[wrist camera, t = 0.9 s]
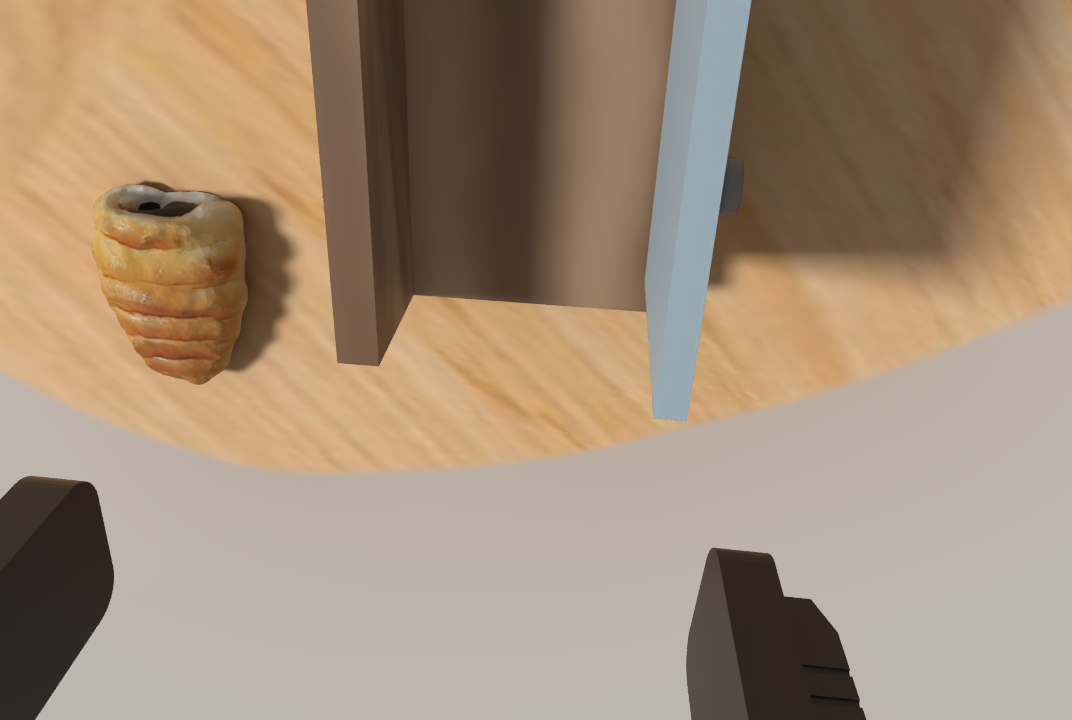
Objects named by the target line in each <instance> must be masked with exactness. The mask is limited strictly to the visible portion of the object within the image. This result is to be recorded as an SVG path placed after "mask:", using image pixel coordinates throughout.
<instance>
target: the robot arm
mask: <svg viewBox="0 0 1072 720" xmlns="http://www.w3.org/2000/svg"><path fill="white" fill-rule="evenodd" d="M113 584H114V570H113V564H112V559H111V555H110V550H109V545H108V541H107V536H106V531H105V526H104V522H103V517H102V512H101V507H100V503H99V498H98V494H97V491H96V490H95V487H94V486H93V485H92V484H91V483H89V482H85V481H76V480H66V479H56V478H46V477H37V476H27V477H25V478H23V479H21V480H19V481H18V482H17V483H16V484H15V485H14V486H13V487H12V488H11V489H10V490H9V491H8V492H7V493H6V494H5V495H4V496H3V497H2V498H1V499H0V720H35V719H36V717H37V716H38V714H39V713H40V711H41V710H42V708H43V707H44V705H45V704H46V702H47V701H48V699H49V698H50V696H51V695H52V693H53V692H54V690H55V689H56V687H57V686H58V684H59V683H60V681H61V680H62V678H63V677H64V675H65V674H66V672H67V671H68V669H69V668H70V666H71V665H72V663H73V662H74V660H75V659H76V657H77V656H78V654H79V653H80V651H81V650H82V648H83V647H84V645H85V644H86V642H87V641H88V639H89V638H90V636H91V635H92V633H93V632H94V630H95V629H96V627H97V626H98V624H99V623H100V621H101V620H102V618H103V616H104V614H105V612H106V610H107V608H108V605H109V602H110V599H111V595H112V591H113ZM686 663H687V664H686V670H687V685H688V694H689V702H690V710H691V718H692V720H866V718H865V715H864V711H863V709H862V708H860V706H859V701H860V699H859V696H858V693H857V690H856V687H855V684H854V681H853V678H852V677H850V675H849V670H850V669H849V666H848V663H847V659H846V656H845V654H844V650H843V647H842V644H841V641H840V638H839V635H838V633H837V631H836V630H835V629H834V628H833V626H832V625H831V624H830V622H829V621H828V620H827V619H826V617H825V616H824V615H823V614H822V613H821V611H820V610H819V609H818V608H817V606H816V605H815V604H814V603H813V601H812V600H811V599H802V598H793V597H784V595H783V592H782V588H781V584H780V580H779V577H778V573H777V569H776V566H775V562H774V559H773V557H772V556H771V555H770V554H768V553H759V552H749V551H740V550H730V549H720V548H712V549H711V550H710V551H709V554H708V556H707V560H706V564H705V568H704V572H703V576H702V581H701V585H700V589H699V594H698V598H697V602H696V606H695V610H694V614H693V618H692V623H691V627H690V632H689V637H688V645H687V662H686Z"/></svg>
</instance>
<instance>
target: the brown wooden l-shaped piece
mask: <svg viewBox="0 0 1072 720" xmlns="http://www.w3.org/2000/svg"><path fill="white" fill-rule="evenodd" d="M306 4H307V16H308V27H309V39H310V51H311V62H312V74H313V85H314V97H315V108H316V120H317V131H318V143H319V154H320V166H321V178H322V189H323V201H324V212H325V224H326V235H327V247H328V258H329V270H330V282H331V293H332V305H333V316H334V328H335V339H336V351H337V362H338V363H344V364H357V365H370V366H379V365H380V363H381V361H382V358H383V356H384V354H385V352H386V350H387V348H388V346H389V344H390V342H391V340H392V338H393V336H394V334H395V332H396V330H397V328H398V326H399V323H400V321H401V319H402V317H403V315H404V313H405V311H406V309H407V307H408V305H409V303H410V301H411V299H412V297H413V295H423V296H436V297H450V298H464V299H478V300H491V301H505V302H519V303H532V304H546V305H560V306H574V307H587V308H601V309H615V310H628V311H642V312H647V311H646V295H645V273H646V264H647V255H648V247H649V238H650V229H651V220H652V211H653V202H654V193H655V185H656V176H657V167H658V158H659V149H660V140H661V131H662V123H663V114H664V105H665V96H666V87H667V78H668V69H669V61H670V52H671V43H672V34H673V25H674V16H675V7H676V0H306Z"/></svg>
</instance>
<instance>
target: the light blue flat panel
mask: <svg viewBox="0 0 1072 720" xmlns="http://www.w3.org/2000/svg"><path fill="white" fill-rule="evenodd" d="M750 6H751V0H676V7H675V16H674V25H673V34H672V43H671V52H670V61H669V69H668V78H667V87H666V96H665V105H664V114H663V123H662V131H661V140H660V149H659V158H658V167H657V176H656V185H655V193H654V202H653V211H652V220H651V229H650V238H649V247H648V255H647V264H646V273H645V295H646V311H647V327H648V342H649V358H650V373H651V389H652V404H653V419H664V420H677V421H687V417H688V411H689V404H690V398H691V391H692V385H693V378H694V372H695V365H696V359H697V352H698V346H699V339H700V333H701V326H702V319H703V313H704V306H705V300H706V293H707V287H708V280H709V274H710V267H711V261H712V254H713V248H714V241H715V235H716V228H717V222H718V215H719V214H728V215H736V213H737V211H738V208H739V205H740V200H741V194H742V187H743V160H742V158H730V157H727V156H728V150H729V143H730V137H731V130H732V124H733V117H734V111H735V104H736V98H737V91H738V85H739V78H740V72H741V65H742V59H743V52H744V46H745V39H746V33H747V26H748V19H749V13H750Z"/></svg>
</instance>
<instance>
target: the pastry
mask: <svg viewBox="0 0 1072 720" xmlns="http://www.w3.org/2000/svg"><path fill="white" fill-rule="evenodd" d="M94 208H95V209H94V213H93V217H92V218H93V221H94V223H95V235H94V239H93V245H92V254H93V256H94V259H95V261H96V264H97V267H98V269H99V272H100V280H101V284H102V291H103V293H104V294H105V296H106V298H107V301H108V303H109V306H110V308H111V309H112V310H113V311H114V312H115V313H116V315H117V319H118V321H119V323H120V325H121V327H122V328H123V329H124V330H125V331H126V334H127V337H128V338H129V339H130V341H131V342H132V344H133V346H134V349H135V350H136V352H137V353H139V354H140V355H141V356H142V358H143V359H144V360H145V362H146V365H147V366H148V367H150V368H152V369H153V370H155V371H157V372H159V373H161V374H164V375H167V376H171V377H175V378H179V379H184V380H187V381H188V382H190V383H193V384H196V385H200V384H204V383H206V382H207V381H209V380H210V379H211V378H213V377H214V376H216V375H217V374H219V373H220V372H221V371H223V370H224V369H225V368H226V367H227V366H228V364H229V362H230V358H231V352H232V350H233V348H234V343H235V341H236V340H237V338H238V336H239V334H240V332H241V330H240V328H241V322H242V315H243V312H244V309H245V307H246V305H247V302H248V288H247V285H246V282H245V262H246V243H245V231H244V227H243V224H244V222H243V217H242V213H241V211H240V210H239V209H238V208H237V207H236V206H235V205H234V204H233V203H232V202H230V201H224V200H222V199H220V198H219V197H218V196H216V195H213V194H209V193H204V192H199V191H192V192H184V191H178V192H168V193H166V192H163V191H160V190H158V189H156V188H153V187H150V186H145V185H134V184H126V185H122V186H119V187H116V188H113V189H111V190H109V191H107V192H106V193H105V194H103V195H102V196H101V197H100V198H99V199H98V200H97V201H96V202H95V204H94Z"/></svg>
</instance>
